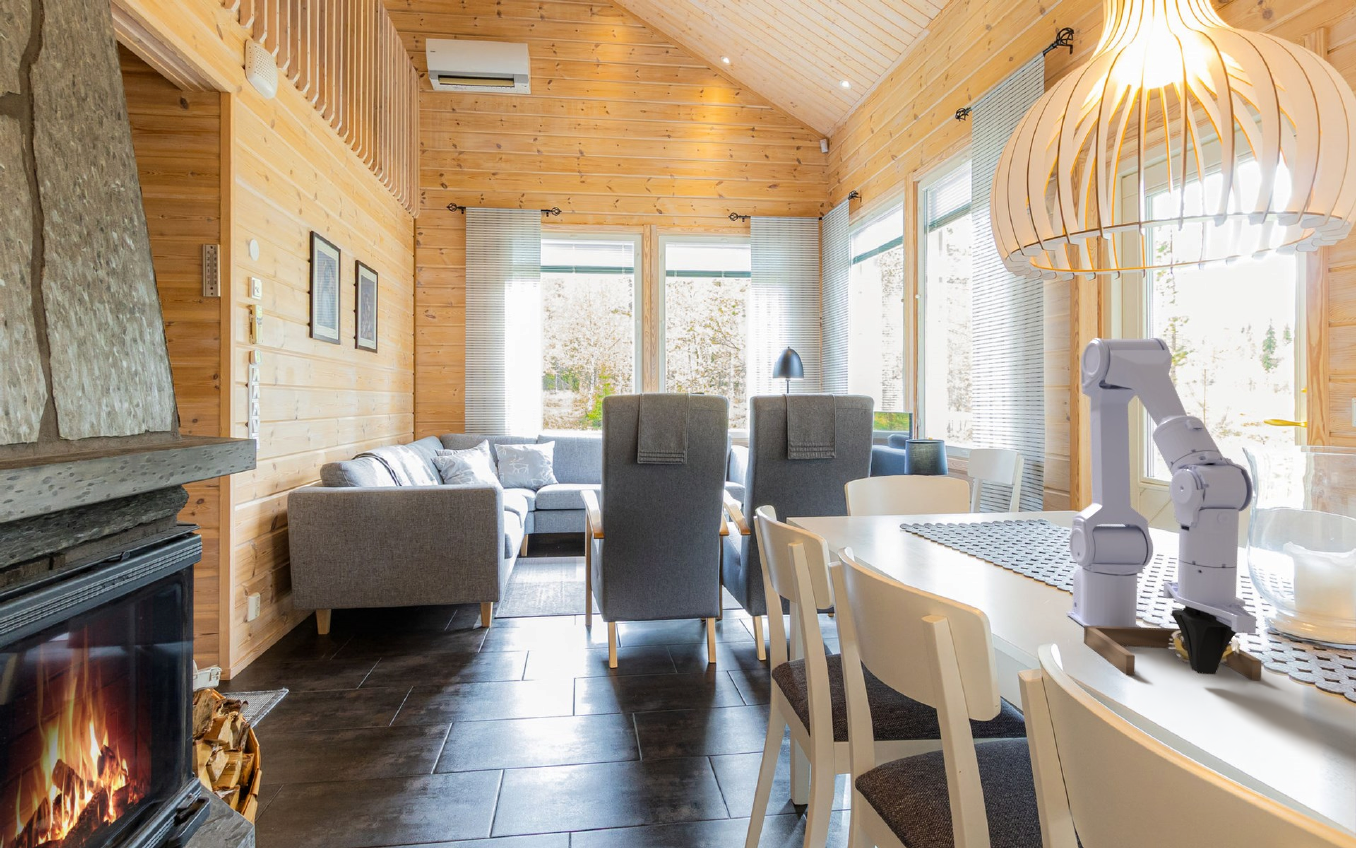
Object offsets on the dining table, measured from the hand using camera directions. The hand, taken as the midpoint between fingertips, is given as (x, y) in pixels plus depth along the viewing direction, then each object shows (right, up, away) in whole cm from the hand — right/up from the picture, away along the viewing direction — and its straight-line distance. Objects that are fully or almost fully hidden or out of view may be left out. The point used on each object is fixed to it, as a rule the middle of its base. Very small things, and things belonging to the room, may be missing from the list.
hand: (1203, 671), depth 86 cm
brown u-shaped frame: (+1, -1, +8) cm, 8 cm away
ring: (+7, +1, +3) cm, 8 cm away
